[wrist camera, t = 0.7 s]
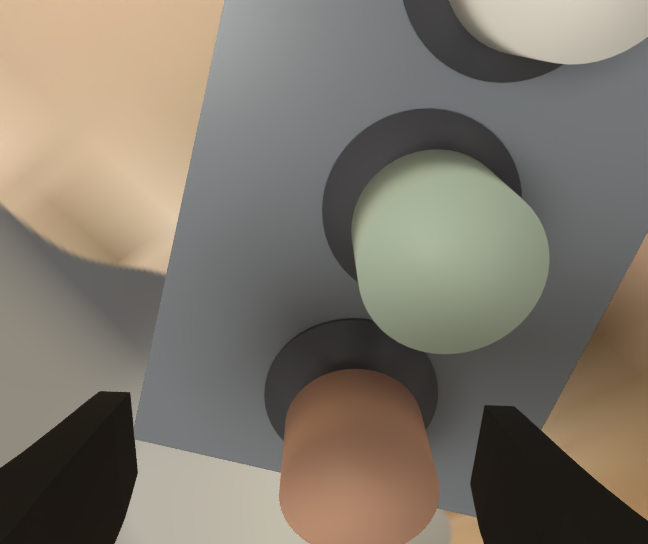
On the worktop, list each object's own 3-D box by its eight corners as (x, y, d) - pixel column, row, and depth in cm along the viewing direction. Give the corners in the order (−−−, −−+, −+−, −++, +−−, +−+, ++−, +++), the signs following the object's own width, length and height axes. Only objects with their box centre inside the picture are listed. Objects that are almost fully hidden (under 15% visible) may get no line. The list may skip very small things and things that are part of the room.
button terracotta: (442, 388, 19) (464, 453, 16) (395, 493, 20) (407, 569, 17) (306, 353, 18) (304, 414, 15) (269, 464, 20) (261, 537, 17)
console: (780, -106, 17) (844, -123, 15) (479, 483, 25) (493, 524, 23) (298, -293, 15) (295, -340, 13) (146, 405, 23) (130, 442, 21)
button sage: (537, 176, 16) (582, 209, 13) (474, 316, 18) (503, 372, 15) (380, 128, 15) (394, 152, 13) (331, 278, 17) (334, 328, 14)
